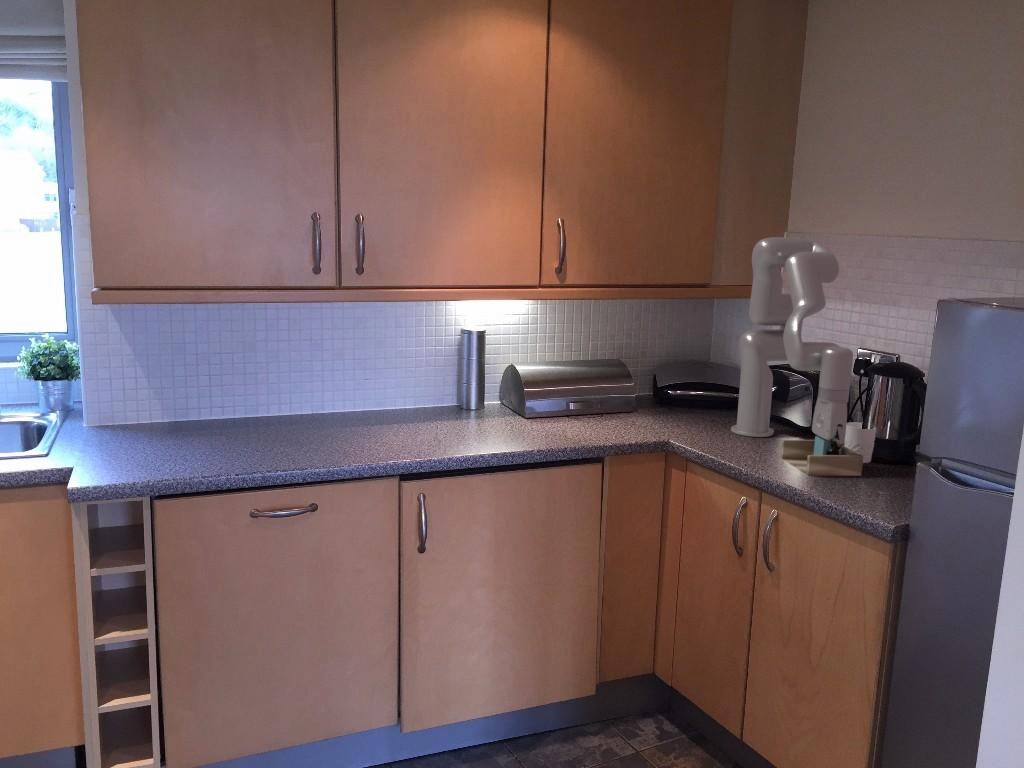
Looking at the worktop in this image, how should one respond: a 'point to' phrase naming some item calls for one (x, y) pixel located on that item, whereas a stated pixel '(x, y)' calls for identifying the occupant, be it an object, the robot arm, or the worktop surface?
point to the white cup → (860, 440)
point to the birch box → (820, 459)
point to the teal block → (822, 446)
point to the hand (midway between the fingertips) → (826, 461)
